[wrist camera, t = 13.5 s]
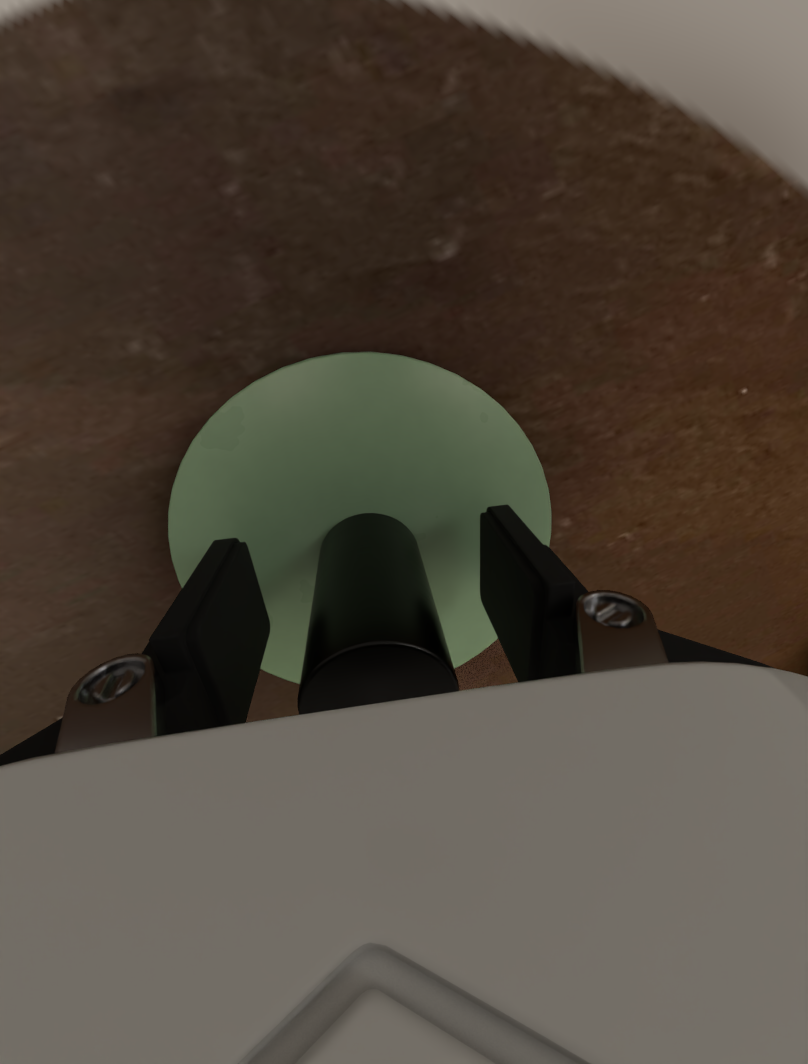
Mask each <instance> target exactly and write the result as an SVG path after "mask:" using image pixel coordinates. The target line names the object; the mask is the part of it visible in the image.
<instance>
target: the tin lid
mask: <svg viewBox="0 0 808 1064" xmlns="http://www.w3.org/2000/svg"><path fill="white" fill-rule="evenodd" d="M507 504H508V505H509V506H510V507H511V508H512V509H513V511H514V512H515V513H516V514H517V515H518V516H519V517H520V519H521V520H522V521H523V522H524V523H525V524H526V525H527V527H528V528H529V529H530V530H531V531H532V532H533V534H534V535H535V536H536V537H537V538H538V539H539V540H540V542H541V543H542V544H543V545H547V546H548V547H549V543H550V537H551V505H550V497H549V489H548V486H547V482H546V479H545V475H544V472H543V468H542V466H541V464H540V461H539V459H538V457H537V455H536V452H535V450H534V448H533V446H532V444H531V443H530V441H529V440H528V438H527V437H526V435H525V434H524V432H523V431H522V429H521V428H520V426H519V425H518V424H517V423H516V421H515V420H514V419H513V418H512V417H511V416H510V415H509V414H508V412H507V411H506V410H505V409H504V408H503V407H502V406H501V405H500V404H499V403H497V402H496V401H495V400H494V399H493V398H491V397H490V396H489V395H488V394H487V393H485V392H484V391H483V390H482V389H480V388H479V387H477V386H475V385H474V384H472V383H470V382H469V381H467V380H465V379H464V378H462V377H460V376H459V375H457V374H455V373H452V372H450V371H448V370H445V369H443V368H441V367H438V366H436V365H434V364H431V363H429V362H425V361H422V360H418V359H414V358H410V357H406V356H403V355H396V354H388V353H379V352H341V353H335V354H329V355H323V356H318V357H312V358H309V359H306V360H303V361H300V362H296V363H293V364H290V365H287V366H284V367H282V368H280V369H278V370H276V371H274V372H272V373H270V374H268V375H266V376H264V377H262V378H260V379H258V380H256V381H254V382H253V383H251V384H250V385H248V386H247V387H246V388H244V389H243V390H241V391H240V392H238V393H237V394H236V395H234V396H233V397H231V398H230V399H229V400H228V401H227V402H226V403H225V404H224V405H223V406H222V407H221V408H220V409H219V410H217V411H216V412H215V413H214V414H213V415H212V416H211V417H210V418H209V419H208V421H207V422H206V423H205V425H204V426H203V427H202V429H201V430H200V431H199V433H198V434H197V435H196V437H195V438H194V439H193V441H192V443H191V445H190V446H189V448H188V450H187V452H186V454H185V456H184V458H183V460H182V461H181V463H180V466H179V469H178V472H177V475H176V478H175V481H174V484H173V487H172V492H171V498H170V504H169V510H168V538H169V545H170V551H171V557H172V562H173V565H174V568H175V571H176V574H177V577H178V580H179V583H180V585H181V587H182V588H183V587H184V585H185V584H186V582H187V581H188V579H189V578H190V576H191V574H192V573H193V571H194V570H195V568H196V567H197V565H198V564H199V562H200V561H201V559H202V558H203V556H204V555H205V553H206V552H207V550H208V549H209V547H210V545H211V544H212V542H213V541H214V540H220V539H228V538H238V539H239V541H240V542H246V544H247V546H248V549H249V552H250V555H251V559H252V562H253V566H254V569H255V572H256V576H257V579H258V583H259V586H260V589H261V593H262V596H263V600H264V603H265V606H266V610H267V613H268V617H269V620H270V634H269V638H268V642H267V645H266V649H265V652H264V656H263V660H262V663H261V667H260V668H261V669H262V670H264V671H266V672H268V673H271V674H273V675H275V676H278V677H280V678H283V679H285V680H288V681H291V682H295V683H298V684H300V687H299V694H298V711H299V715H302V714H309V713H315V712H322V711H329V710H336V709H342V708H349V707H356V706H363V705H369V704H376V703H383V702H389V701H396V700H403V699H410V698H416V697H423V696H430V695H436V694H443V693H450V692H456V691H459V685H458V680H457V677H456V674H455V670H454V668H456V667H458V666H460V665H462V664H464V663H465V662H467V661H468V660H470V659H471V658H473V657H475V656H476V655H478V654H479V653H481V652H482V651H483V650H484V649H486V648H487V647H488V646H489V645H490V644H492V643H493V642H494V641H495V640H497V639H498V637H497V635H496V633H495V630H494V628H493V626H492V624H491V622H490V620H489V617H488V615H487V613H486V611H485V609H484V607H483V604H482V602H481V597H480V515H481V513H483V512H486V510H487V508H488V507H491V506H499V505H507Z"/></svg>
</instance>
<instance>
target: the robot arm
mask: <svg viewBox="0 0 808 1064" xmlns="http://www.w3.org/2000/svg"><path fill="white" fill-rule="evenodd" d="M480 597H481V602H482V604H483V607H484V609H485V611H486V613H487V615H488V617H489V620H490V622H491V624H492V626H493V628H494V630H495V633H496V635H497V637H498V639H499V641H500V643H501V645H502V648H503V650H504V652H505V654H506V656H507V658H508V661H509V663H510V665H511V667H512V669H513V671H514V673H515V676H516V678H517V680H518V683H511V684H504V685H497V686H490V687H483V688H477V689H470V690H463V691H456V692H450V693H443V694H436V695H430V696H423V697H416V698H410V699H403V700H396V701H389V702H383V703H376V704H369V705H363V706H356V707H349V708H342V709H336V710H329V711H322V712H315V713H309V714H302V715H295V716H288V717H282V718H275V719H268V720H261V721H255V722H248V723H245V722H246V718H247V714H248V711H249V707H250V704H251V700H252V696H253V693H254V689H255V685H256V682H257V678H258V674H259V671H260V667H261V663H262V660H263V656H264V652H265V649H266V645H267V642H268V638H269V634H270V620H269V617H268V613H267V610H266V606H265V603H264V600H263V596H262V593H261V589H260V586H259V583H258V579H257V576H256V572H255V569H254V566H253V562H252V559H251V555H250V552H249V549H248V546H247V544H246V542H240V541H239V539H238V538H228V539H220V540H214V541H213V542H212V544H211V545H210V547H209V549H208V550H207V552H206V553H205V555H204V556H203V558H202V559H201V561H200V562H199V564H198V565H197V567H196V568H195V570H194V571H193V573H192V574H191V576H190V578H189V579H188V581H187V582H186V584H185V585H184V587H183V588H182V590H181V591H180V593H179V594H178V596H177V597H176V599H175V600H174V602H173V603H172V605H171V607H170V608H169V610H168V611H167V613H166V614H165V616H164V617H163V619H162V620H161V622H160V623H159V625H158V626H157V628H156V629H155V631H154V632H153V634H152V636H151V637H150V639H149V641H150V642H149V643H148V645H147V646H146V648H145V649H144V651H143V652H142V654H138V653H136V654H127V655H123V656H120V657H116V658H113V659H111V660H109V661H106V662H104V663H102V664H100V665H99V666H97V667H95V668H94V669H92V670H90V671H89V672H88V673H87V674H85V675H84V676H83V677H82V678H80V679H79V680H78V682H77V683H76V684H75V685H74V686H73V687H72V689H71V691H70V693H69V695H68V697H67V702H66V706H65V710H64V715H63V718H62V719H60V720H58V721H57V722H55V723H53V724H51V725H50V726H48V727H46V728H45V729H43V730H41V731H40V732H38V733H36V734H35V735H33V736H31V737H30V738H28V739H26V740H25V741H23V742H21V743H20V744H18V745H16V746H15V747H13V748H11V749H10V750H8V751H6V752H5V753H3V754H1V755H0V1064H808V677H807V676H804V675H800V674H796V673H793V672H788V671H784V670H779V669H775V668H773V667H770V666H768V665H765V664H763V663H760V662H756V661H753V660H750V659H747V658H744V657H741V656H738V655H735V654H732V653H729V652H725V651H722V650H719V649H716V648H713V647H710V646H707V645H704V644H701V643H698V642H694V641H691V640H688V639H685V638H682V637H679V636H676V635H673V634H670V633H667V632H663V631H660V630H658V629H657V626H656V623H655V621H654V618H653V615H652V613H651V611H650V610H649V608H648V607H647V606H646V605H645V604H643V603H642V602H641V601H639V600H638V599H636V598H634V597H632V596H630V595H627V594H624V593H621V592H616V591H610V590H596V591H590V592H588V591H587V590H586V588H585V587H584V586H583V585H582V584H581V583H580V582H579V580H578V579H577V578H576V577H575V576H574V575H573V574H572V573H571V571H570V570H569V569H568V568H567V567H566V566H565V565H564V564H563V562H562V561H561V560H560V559H559V558H558V557H557V556H556V555H555V553H554V552H553V551H552V550H551V549H550V548H549V547H548V546H547V545H543V544H542V543H541V542H540V540H539V539H538V538H537V537H536V536H535V535H534V534H533V532H532V531H531V530H530V529H529V528H528V527H527V525H526V524H525V523H524V522H523V521H522V520H521V519H520V517H519V516H518V515H517V514H516V513H515V512H514V511H513V509H512V508H511V507H510V506H509V505H508V504H507V505H499V506H491V507H488V508H487V510H486V512H483V513H481V515H480Z"/></svg>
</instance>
